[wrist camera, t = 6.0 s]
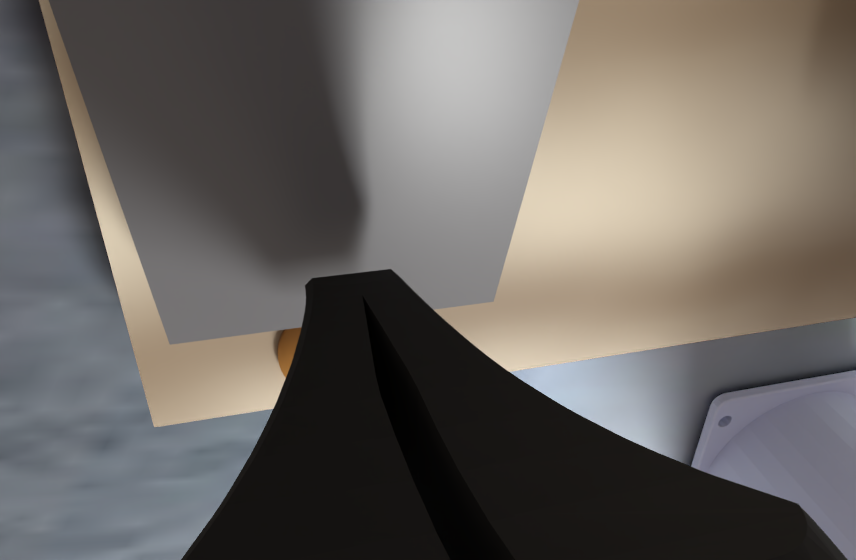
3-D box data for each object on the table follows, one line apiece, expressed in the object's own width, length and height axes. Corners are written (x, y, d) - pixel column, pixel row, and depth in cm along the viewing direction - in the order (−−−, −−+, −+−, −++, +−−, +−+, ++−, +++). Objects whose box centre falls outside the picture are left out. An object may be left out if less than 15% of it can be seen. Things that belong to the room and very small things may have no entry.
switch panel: (883, 248, 22) (1020, 335, 19) (162, 344, 18) (147, 487, 14) (1183, -455, 14) (1558, -565, 10) (-73, -638, 9) (-288, -984, 5)
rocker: (476, 255, 14) (493, 301, 14) (169, 291, 13) (169, 344, 12) (608, -306, 7) (656, -271, 7) (-35, -350, 6) (-61, -310, 5)
